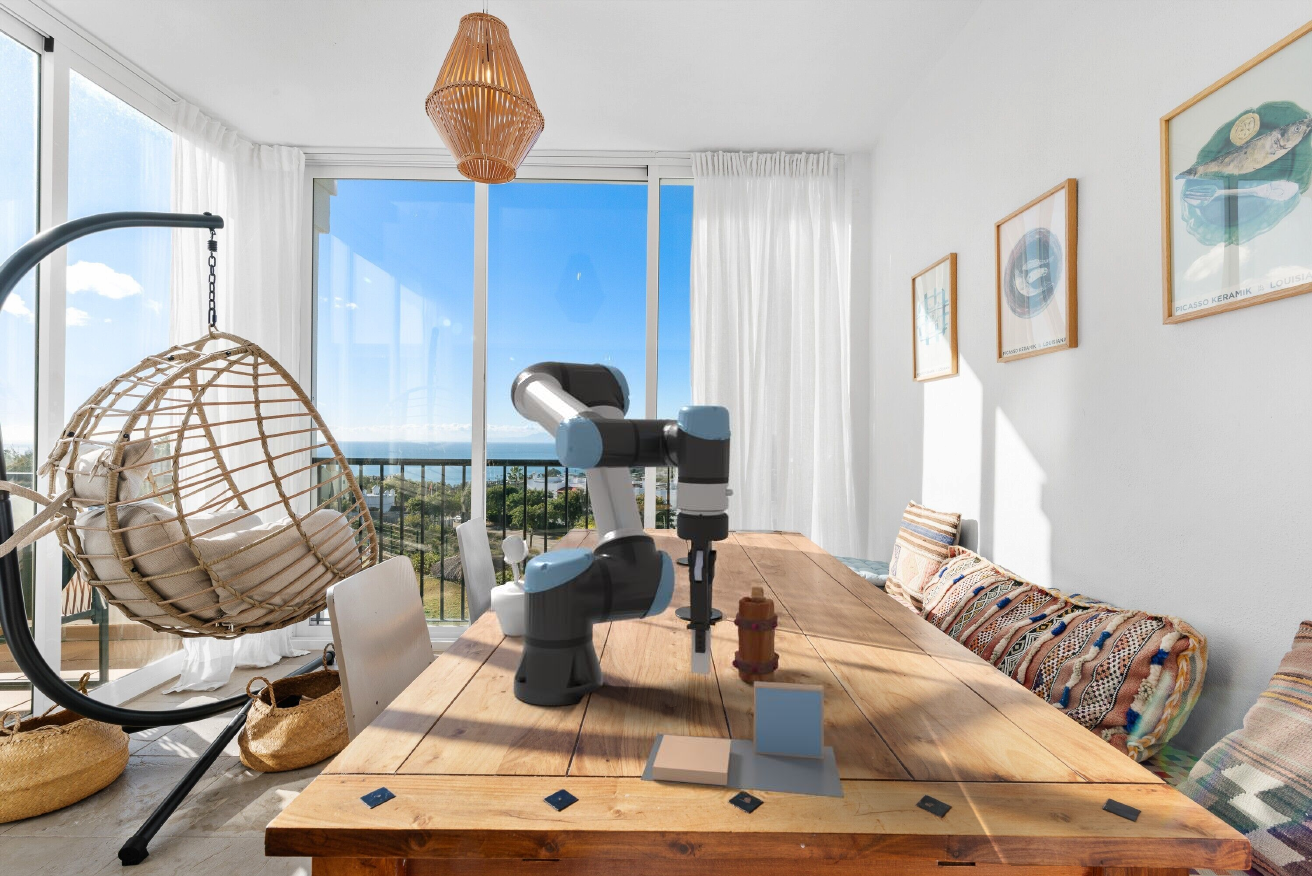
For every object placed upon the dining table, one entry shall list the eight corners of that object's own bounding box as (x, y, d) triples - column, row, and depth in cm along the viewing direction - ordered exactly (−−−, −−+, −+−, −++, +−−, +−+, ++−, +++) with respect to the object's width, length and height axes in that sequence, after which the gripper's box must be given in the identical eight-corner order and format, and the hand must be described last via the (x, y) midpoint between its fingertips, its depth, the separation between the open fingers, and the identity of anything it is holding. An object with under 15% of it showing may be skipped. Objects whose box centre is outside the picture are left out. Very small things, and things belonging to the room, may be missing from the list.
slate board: (640, 789, 81) (640, 779, 81) (657, 742, 94) (657, 733, 94) (843, 807, 77) (843, 797, 77) (832, 755, 90) (832, 746, 90)
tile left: (663, 747, 90) (652, 780, 81) (664, 734, 90) (652, 766, 81) (730, 752, 88) (727, 786, 79) (730, 739, 88) (726, 773, 79)
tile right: (753, 753, 88) (753, 685, 88) (754, 748, 90) (754, 681, 90) (823, 759, 86) (823, 689, 86) (822, 753, 88) (822, 685, 88)
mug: (778, 690, 114) (778, 602, 114) (730, 686, 115) (731, 599, 116) (780, 662, 128) (780, 584, 128) (737, 659, 130) (737, 582, 130)
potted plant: (534, 642, 141) (534, 523, 141) (482, 639, 143) (482, 522, 143) (552, 625, 153) (553, 517, 154) (504, 623, 155) (505, 516, 155)
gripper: (725, 518, 90) (723, 691, 90) (731, 507, 103) (729, 658, 103) (671, 516, 91) (668, 687, 92) (683, 505, 104) (681, 655, 104)
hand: (700, 671), depth 97 cm, fingers closed
